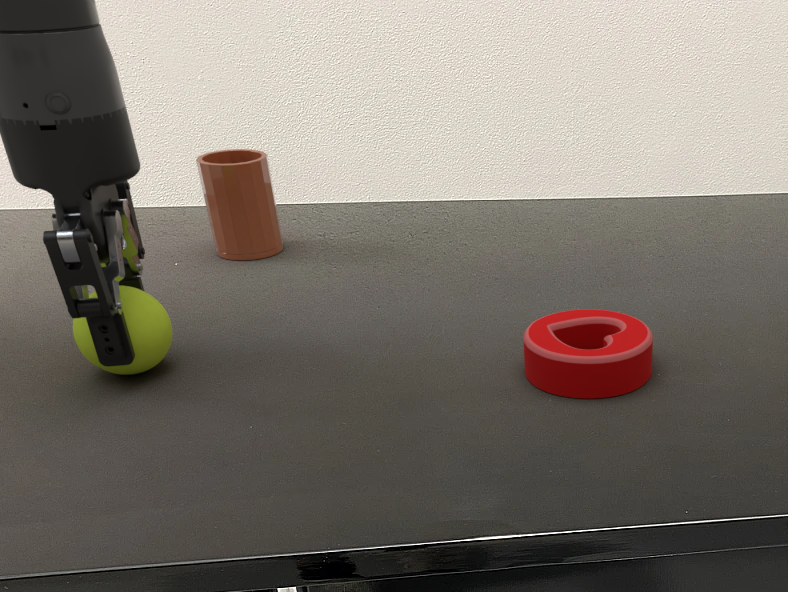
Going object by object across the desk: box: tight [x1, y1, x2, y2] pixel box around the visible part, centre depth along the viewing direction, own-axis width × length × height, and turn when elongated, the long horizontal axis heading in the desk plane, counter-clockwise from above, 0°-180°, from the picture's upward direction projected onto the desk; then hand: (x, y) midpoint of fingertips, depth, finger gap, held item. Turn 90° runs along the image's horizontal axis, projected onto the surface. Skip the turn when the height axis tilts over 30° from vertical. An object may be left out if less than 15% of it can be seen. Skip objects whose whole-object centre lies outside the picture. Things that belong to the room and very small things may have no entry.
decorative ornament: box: [522, 308, 654, 400], centre depth 72 cm, size 10×10×3 cm
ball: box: [72, 286, 174, 375], centre depth 70 cm, size 6×6×6 cm
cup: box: [195, 148, 284, 261], centre depth 93 cm, size 6×6×9 cm
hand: (127, 343), depth 70 cm, fingers closed on ball, 6 cm apart
